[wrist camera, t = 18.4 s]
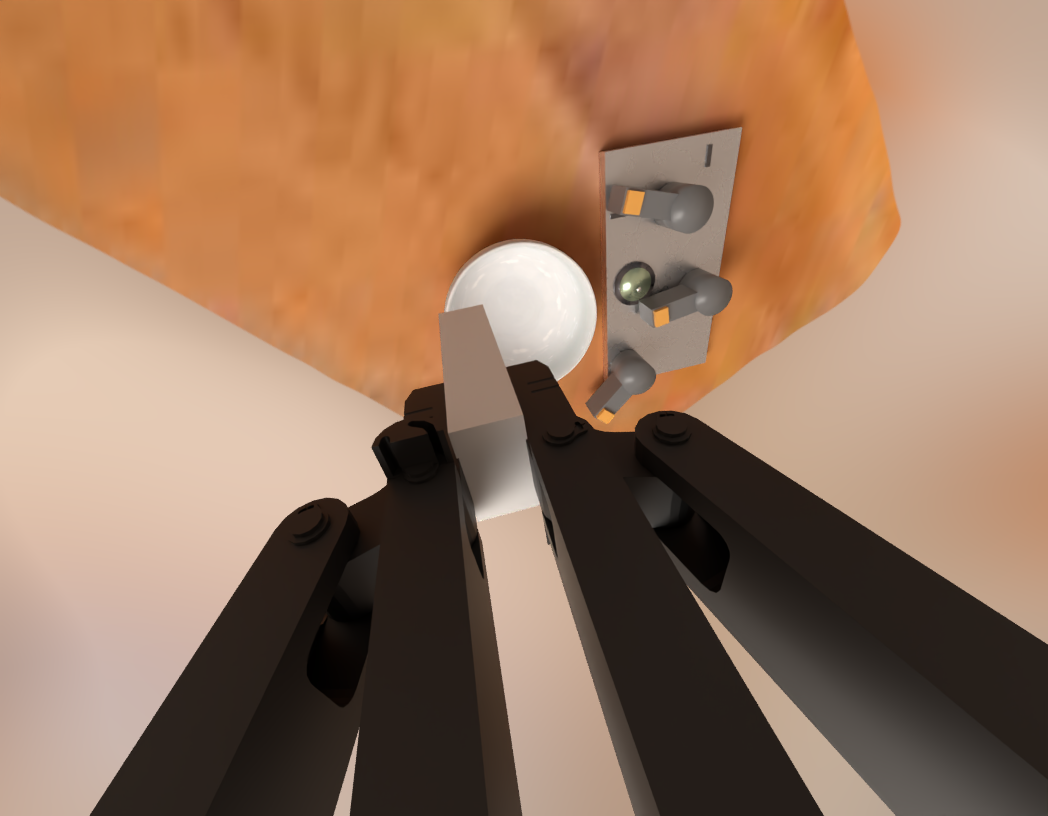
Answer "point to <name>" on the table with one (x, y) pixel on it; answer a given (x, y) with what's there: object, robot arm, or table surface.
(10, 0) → the table surface
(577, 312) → the cereal bowl
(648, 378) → the knob
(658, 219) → the knob
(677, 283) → the level plate
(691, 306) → the knob
